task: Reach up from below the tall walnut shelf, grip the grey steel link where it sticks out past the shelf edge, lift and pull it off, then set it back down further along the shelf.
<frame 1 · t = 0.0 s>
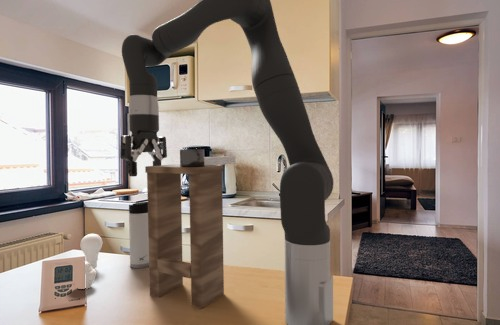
hand: (145, 175, 93), 29 cm above the table, tool pointing down, fingers open, 8 cm apart
travel mug: (141, 265, 109), on the table
shelf: (186, 294, 87), on the table
steel link: (192, 166, 82), point 32 cm above the table, touching shelf
lightbulb: (92, 270, 105), on the table
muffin: (84, 288, 92), on the table
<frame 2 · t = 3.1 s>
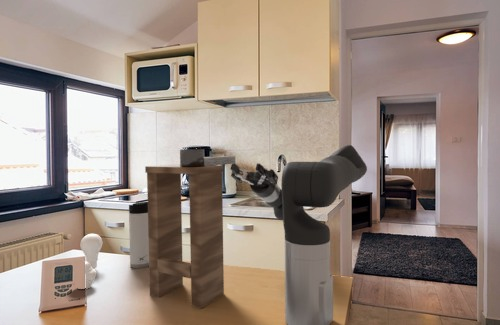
hand: (244, 165, 104), 31 cm above the table, tool pointing upward, fingers open, 8 cm apart
nothing on the table moved.
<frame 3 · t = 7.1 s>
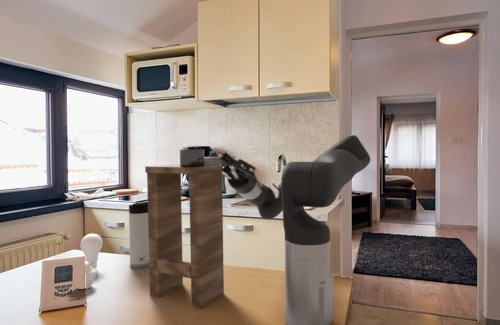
hand: (217, 155, 91), 34 cm above the table, tool pointing upward, fingers closed on steel link, 3 cm apart
steel link: (192, 166, 82), point 32 cm above the table, touching gripper, shelf
everything else where it was.
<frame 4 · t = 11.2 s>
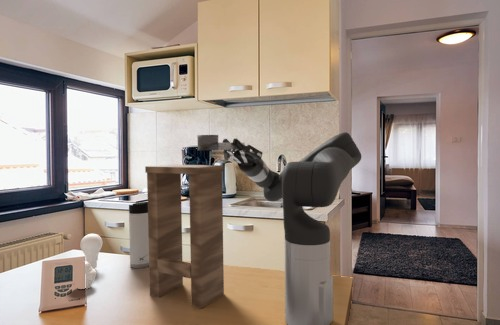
hand: (229, 141, 103), 38 cm above the table, tool pointing upward, fingers closed on steel link, 3 cm apart
steel link: (208, 150, 94), point 36 cm above the table, touching gripper
everything else where it was.
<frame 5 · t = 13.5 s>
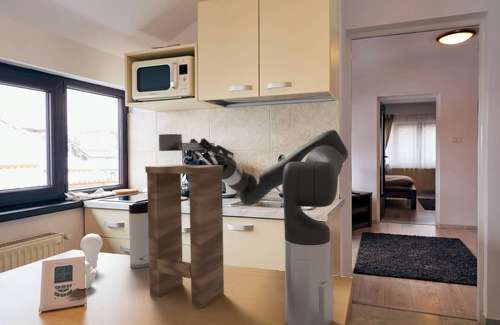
hand: (196, 141, 96), 38 cm above the table, tool pointing upward, fingers closed on steel link, 3 cm apart
steel link: (170, 150, 87), point 36 cm above the table, touching gripper
everything else where it was.
when the fingers open (35 cm above the table, at t = 15.4 s): steel link stays where it is, resting on shelf.
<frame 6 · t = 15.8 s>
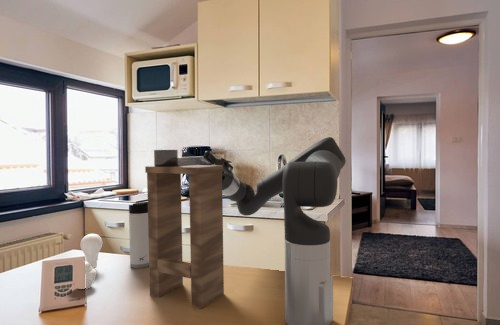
hand: (194, 154, 95), 35 cm above the table, tool pointing upward, fingers open, 7 cm apart
steel link: (166, 166, 85), point 32 cm above the table, touching shelf
everything else where it was.
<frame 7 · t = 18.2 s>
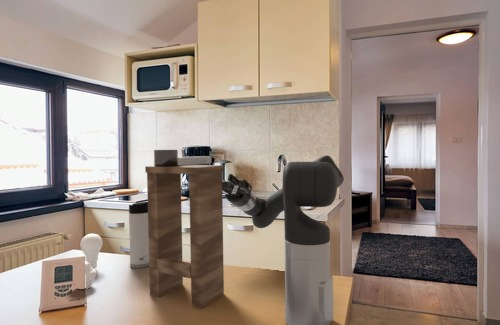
hand: (217, 176, 105), 28 cm above the table, tool pointing upward, fingers open, 8 cm apart
nothing on the table moved.
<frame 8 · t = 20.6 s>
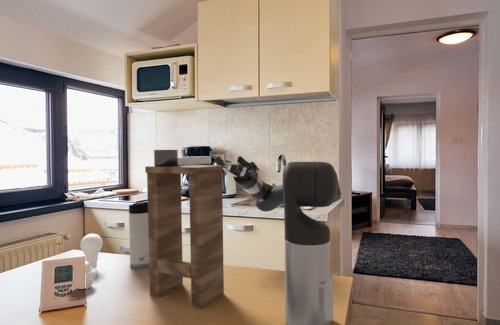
hand: (227, 158, 112), 33 cm above the table, tool pointing upward, fingers open, 8 cm apart
nothing on the table moved.
at the end: steel link inside the target area (0.0 cm from its centre), point 32.0 cm above the table; steel link touching shelf; the gripper is holding nothing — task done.
